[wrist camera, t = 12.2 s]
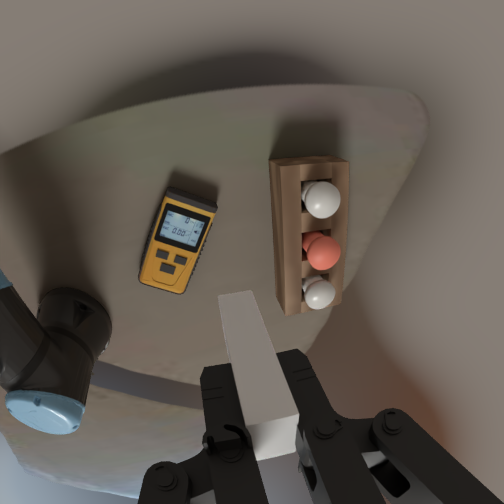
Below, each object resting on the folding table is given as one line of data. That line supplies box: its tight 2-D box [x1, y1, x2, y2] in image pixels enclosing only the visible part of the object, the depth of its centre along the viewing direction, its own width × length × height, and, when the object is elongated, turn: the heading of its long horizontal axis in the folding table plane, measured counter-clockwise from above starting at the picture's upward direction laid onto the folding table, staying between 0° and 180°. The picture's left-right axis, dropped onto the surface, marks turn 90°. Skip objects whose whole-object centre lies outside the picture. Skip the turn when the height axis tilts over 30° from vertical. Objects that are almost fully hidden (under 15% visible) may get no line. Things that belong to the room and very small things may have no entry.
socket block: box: [269, 155, 349, 316], centre depth 46 cm, size 10×24×6 cm, turn 4°
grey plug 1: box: [301, 180, 340, 218], centre depth 41 cm, size 5×5×8 cm
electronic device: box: [138, 187, 218, 294], centre depth 44 cm, size 8×16×3 cm, turn 155°
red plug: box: [302, 230, 341, 270], centre depth 44 cm, size 5×5×8 cm
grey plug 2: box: [302, 275, 335, 309], centre depth 48 cm, size 5×5×8 cm
